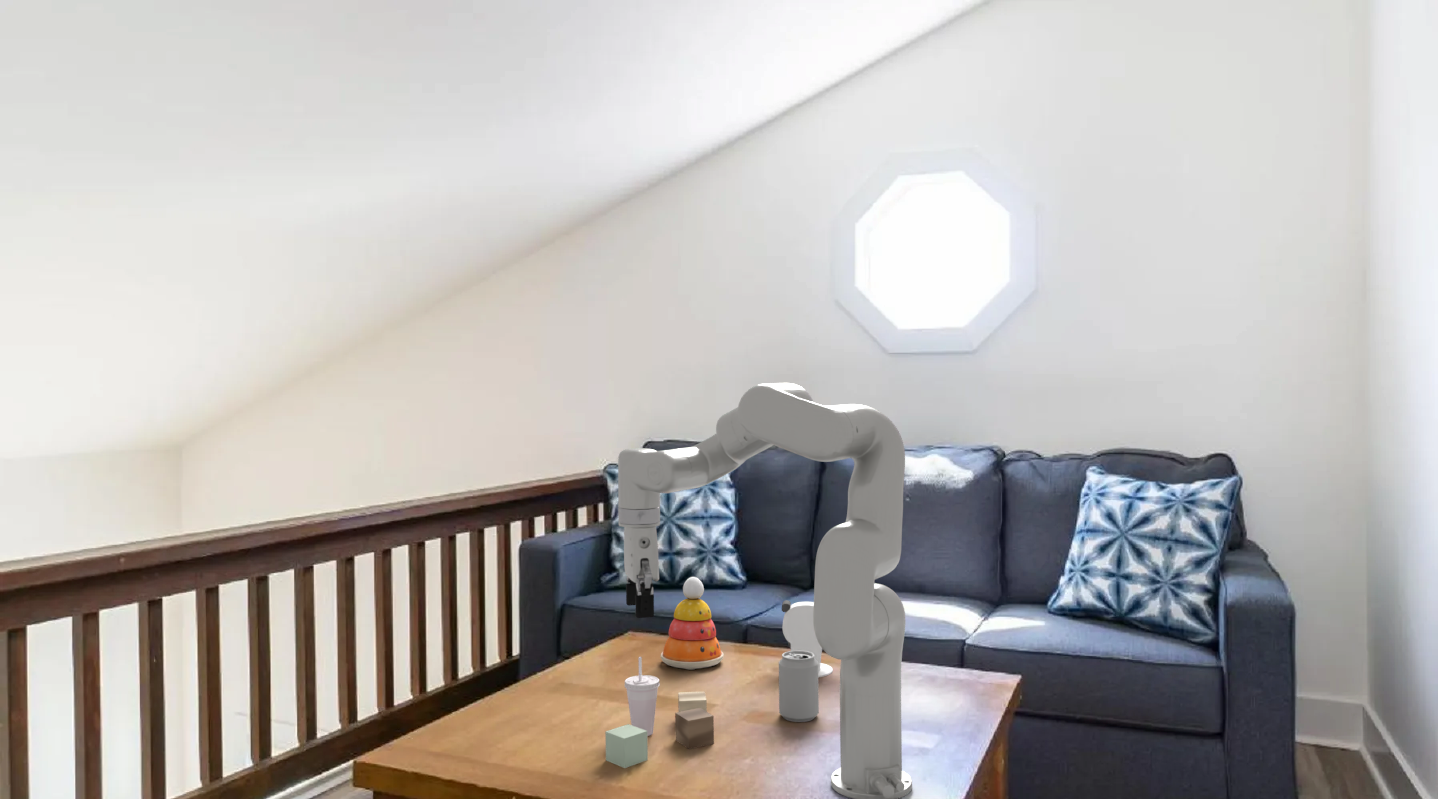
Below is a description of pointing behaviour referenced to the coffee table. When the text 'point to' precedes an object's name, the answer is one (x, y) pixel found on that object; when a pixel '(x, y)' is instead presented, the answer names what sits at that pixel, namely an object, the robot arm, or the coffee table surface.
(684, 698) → the maple cube
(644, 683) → the smoothie
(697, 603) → the stacking toy
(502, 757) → the coffee table surface
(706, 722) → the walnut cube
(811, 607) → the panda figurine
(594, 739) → the coffee table surface
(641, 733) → the sage painted cube
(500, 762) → the coffee table surface
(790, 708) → the can
